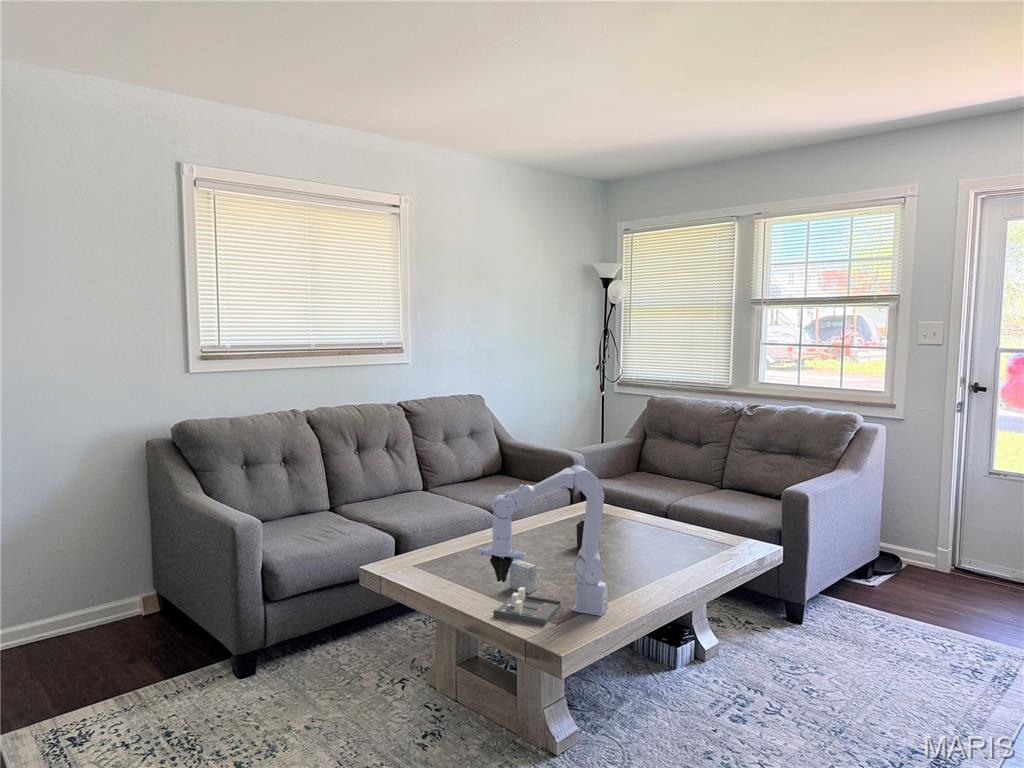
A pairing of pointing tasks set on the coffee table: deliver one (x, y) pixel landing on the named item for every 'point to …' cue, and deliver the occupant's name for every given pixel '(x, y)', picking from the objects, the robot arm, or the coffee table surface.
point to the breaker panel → (530, 610)
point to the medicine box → (523, 576)
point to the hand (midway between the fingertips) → (501, 580)
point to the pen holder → (580, 534)
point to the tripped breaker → (519, 606)
